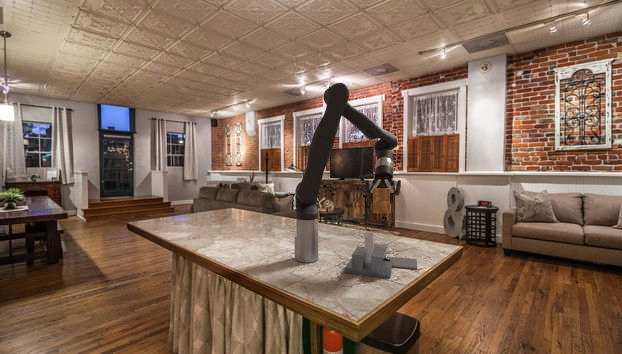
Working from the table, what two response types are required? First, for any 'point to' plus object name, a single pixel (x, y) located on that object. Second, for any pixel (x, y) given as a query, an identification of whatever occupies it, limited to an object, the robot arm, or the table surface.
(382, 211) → the sleeve
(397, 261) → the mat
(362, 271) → the vise
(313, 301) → the table surface
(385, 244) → the mechanical component
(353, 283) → the table surface
